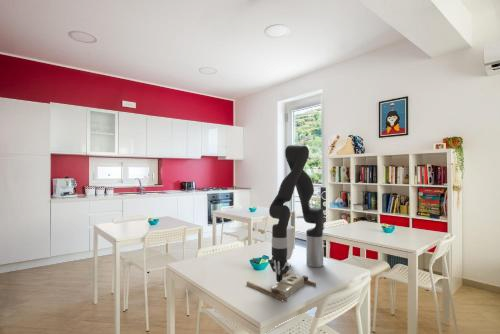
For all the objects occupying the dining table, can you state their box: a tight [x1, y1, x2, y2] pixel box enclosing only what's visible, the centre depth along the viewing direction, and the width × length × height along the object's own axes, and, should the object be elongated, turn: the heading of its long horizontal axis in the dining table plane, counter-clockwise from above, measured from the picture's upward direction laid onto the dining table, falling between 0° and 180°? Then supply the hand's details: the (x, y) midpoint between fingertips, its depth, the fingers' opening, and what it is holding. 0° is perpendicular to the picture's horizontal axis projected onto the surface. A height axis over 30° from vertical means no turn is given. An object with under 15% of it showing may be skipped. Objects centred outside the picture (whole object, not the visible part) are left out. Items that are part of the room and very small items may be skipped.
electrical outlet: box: [270, 273, 305, 298], centre depth 131 cm, size 7×4×18 cm
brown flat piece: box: [246, 272, 317, 302], centre depth 135 cm, size 24×24×3 cm
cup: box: [286, 225, 296, 261], centre depth 166 cm, size 10×10×22 cm
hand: (279, 281), depth 136 cm, fingers closed
